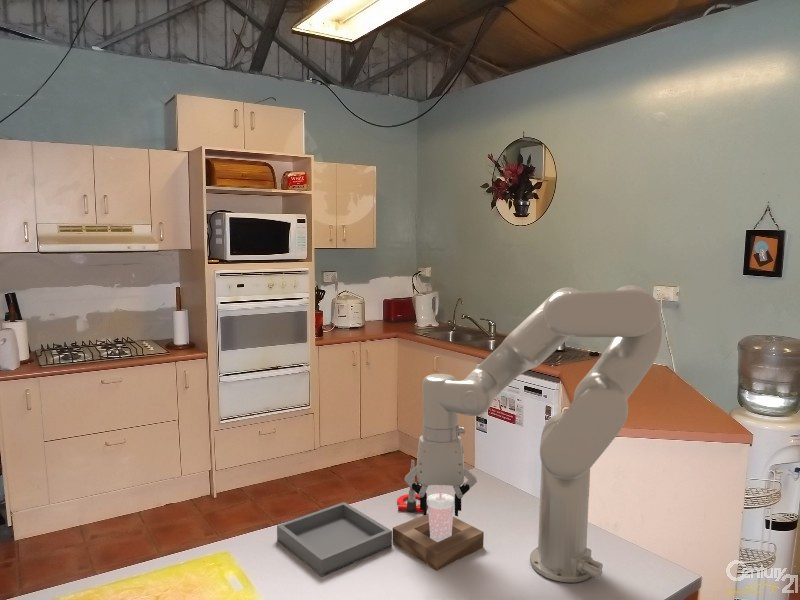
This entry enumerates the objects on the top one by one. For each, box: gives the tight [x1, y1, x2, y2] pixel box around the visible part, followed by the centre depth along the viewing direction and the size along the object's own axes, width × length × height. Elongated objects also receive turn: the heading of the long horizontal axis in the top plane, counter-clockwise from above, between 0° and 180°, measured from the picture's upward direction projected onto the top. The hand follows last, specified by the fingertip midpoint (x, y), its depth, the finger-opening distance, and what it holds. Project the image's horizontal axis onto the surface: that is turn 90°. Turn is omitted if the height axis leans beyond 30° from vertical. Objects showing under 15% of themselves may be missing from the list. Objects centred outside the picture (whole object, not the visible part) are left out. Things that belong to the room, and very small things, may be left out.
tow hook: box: [396, 459, 428, 513], centre depth 146 cm, size 8×13×9 cm
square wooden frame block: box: [392, 512, 484, 572], centre depth 126 cm, size 14×14×4 cm
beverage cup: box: [427, 486, 455, 542], centre depth 125 cm, size 6×6×14 cm
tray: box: [276, 501, 393, 578], centre depth 127 cm, size 18×18×4 cm
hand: (440, 512), depth 126 cm, fingers closed on beverage cup, 6 cm apart
